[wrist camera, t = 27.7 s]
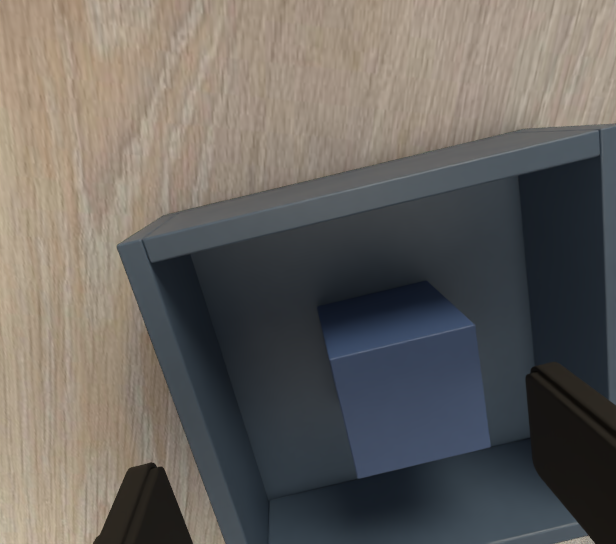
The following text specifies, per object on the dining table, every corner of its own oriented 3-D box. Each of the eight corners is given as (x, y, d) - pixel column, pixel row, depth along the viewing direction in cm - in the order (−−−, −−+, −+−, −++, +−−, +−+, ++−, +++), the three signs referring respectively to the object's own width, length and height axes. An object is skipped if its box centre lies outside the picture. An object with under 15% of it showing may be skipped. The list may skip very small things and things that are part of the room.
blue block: (339, 402, 21) (357, 479, 16) (316, 306, 19) (328, 359, 15) (442, 377, 21) (491, 447, 16) (427, 279, 19) (475, 324, 15)
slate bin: (257, 506, 23) (251, 616, 18) (162, 215, 18) (114, 245, 13) (550, 436, 23) (632, 526, 18) (525, 128, 18) (626, 122, 13)
